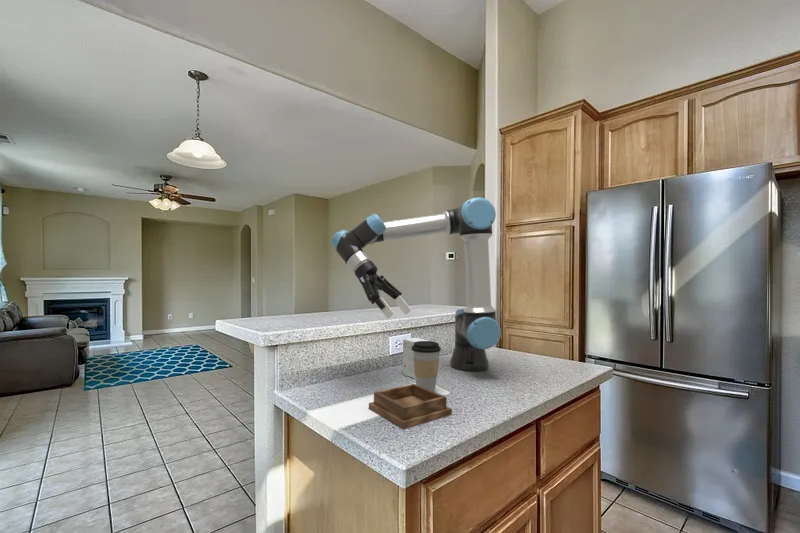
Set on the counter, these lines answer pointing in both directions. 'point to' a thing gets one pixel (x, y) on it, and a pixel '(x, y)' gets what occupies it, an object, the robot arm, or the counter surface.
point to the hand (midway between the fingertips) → (400, 314)
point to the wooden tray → (409, 405)
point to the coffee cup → (426, 363)
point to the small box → (409, 356)
